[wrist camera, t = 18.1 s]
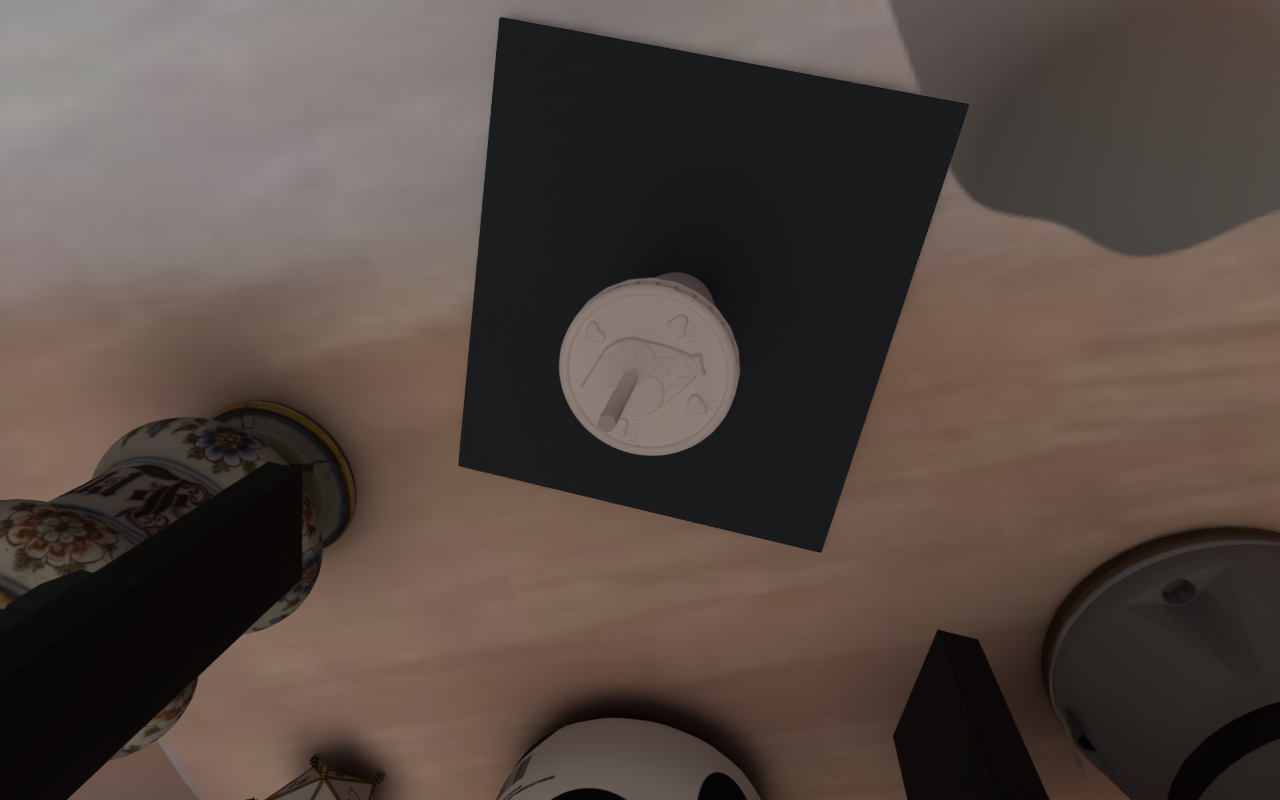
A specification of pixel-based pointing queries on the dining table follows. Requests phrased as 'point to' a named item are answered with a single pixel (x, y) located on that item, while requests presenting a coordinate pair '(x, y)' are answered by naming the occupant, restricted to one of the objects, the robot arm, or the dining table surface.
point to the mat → (696, 262)
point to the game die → (326, 786)
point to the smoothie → (650, 365)
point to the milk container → (625, 765)
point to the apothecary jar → (176, 506)
